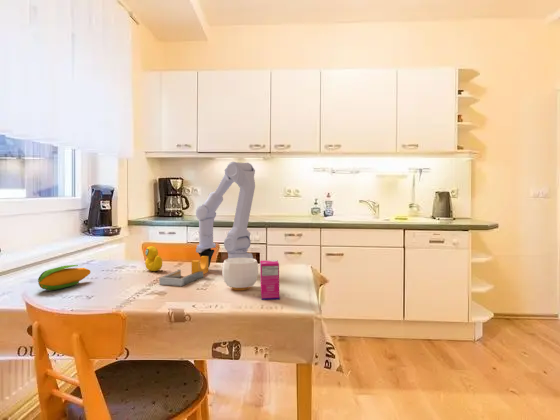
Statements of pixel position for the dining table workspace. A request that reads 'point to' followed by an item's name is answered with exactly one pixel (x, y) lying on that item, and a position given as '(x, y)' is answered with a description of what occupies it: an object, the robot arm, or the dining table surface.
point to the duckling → (153, 259)
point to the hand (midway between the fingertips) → (206, 267)
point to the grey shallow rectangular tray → (175, 279)
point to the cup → (240, 272)
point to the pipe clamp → (200, 265)
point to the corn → (62, 277)
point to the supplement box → (269, 279)
